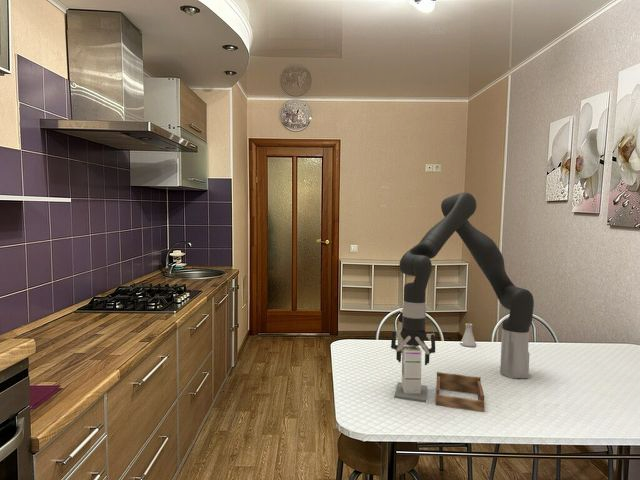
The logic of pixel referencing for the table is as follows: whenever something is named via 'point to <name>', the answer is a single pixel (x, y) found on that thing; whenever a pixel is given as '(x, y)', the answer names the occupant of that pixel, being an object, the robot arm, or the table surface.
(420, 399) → the mat
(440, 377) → the frame
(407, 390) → the syrup box
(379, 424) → the table surface
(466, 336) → the flask
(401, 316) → the travel mug
